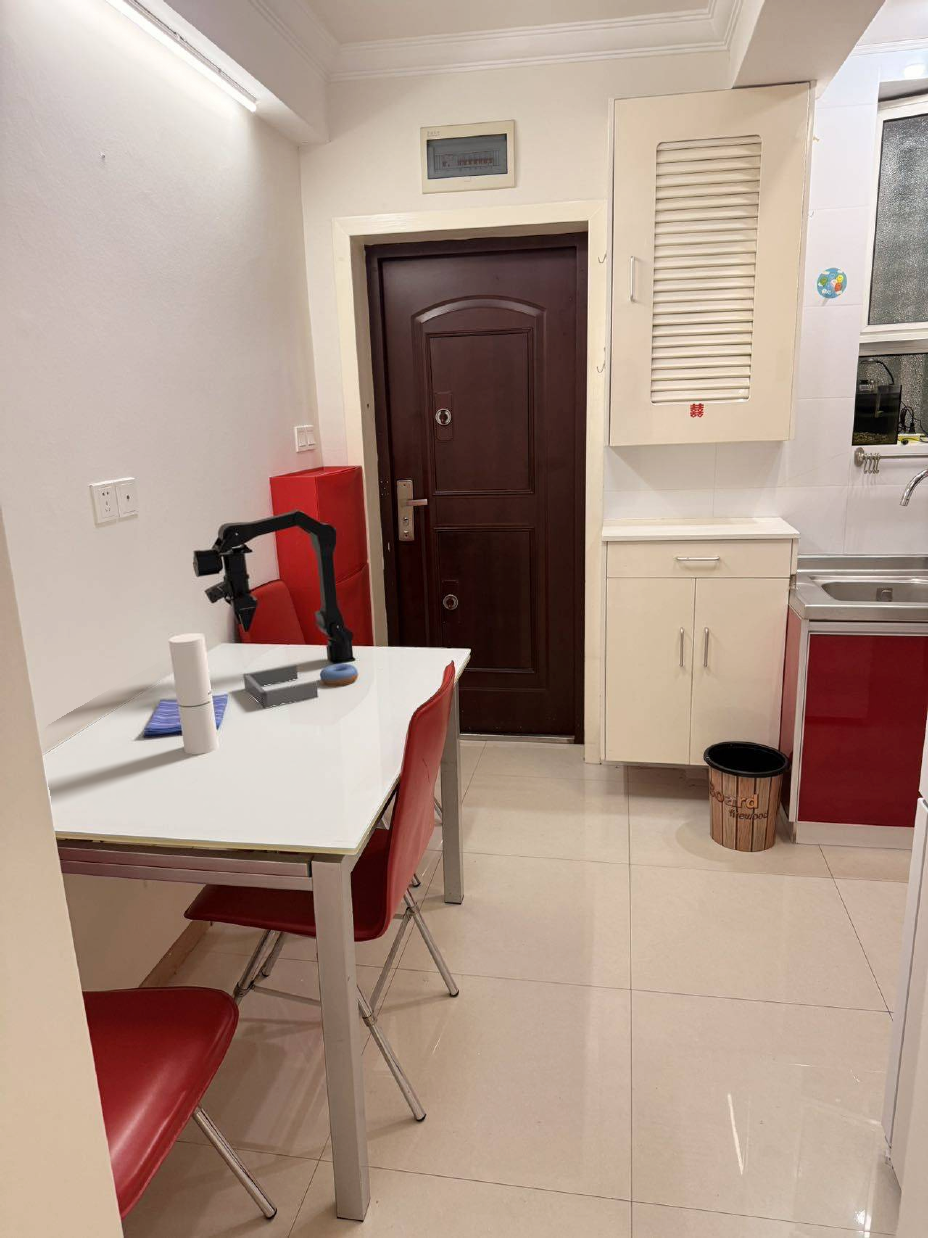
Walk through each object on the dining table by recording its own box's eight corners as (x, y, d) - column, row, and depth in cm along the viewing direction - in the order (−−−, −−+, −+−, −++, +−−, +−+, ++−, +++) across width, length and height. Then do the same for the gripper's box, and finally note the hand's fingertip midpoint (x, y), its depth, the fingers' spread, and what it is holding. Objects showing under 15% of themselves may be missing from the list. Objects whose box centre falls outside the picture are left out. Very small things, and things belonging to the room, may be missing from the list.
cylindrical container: (223, 741, 187) (209, 632, 181) (211, 754, 181) (195, 642, 174) (192, 741, 188) (177, 633, 182) (179, 754, 181) (162, 642, 175)
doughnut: (316, 677, 228) (316, 662, 226) (353, 673, 231) (353, 658, 230) (324, 692, 219) (324, 675, 218) (362, 687, 223) (361, 671, 221)
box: (296, 678, 229) (295, 664, 228) (318, 697, 213) (316, 682, 212) (245, 688, 223) (243, 674, 222) (263, 708, 207) (261, 693, 206)
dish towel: (142, 741, 191) (140, 730, 191) (159, 706, 214) (157, 696, 213) (220, 733, 194) (218, 721, 193) (229, 699, 217) (227, 688, 216)
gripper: (199, 569, 229) (207, 625, 233) (210, 581, 212) (218, 640, 216) (241, 564, 233) (248, 619, 237) (254, 575, 217) (261, 633, 220)
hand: (243, 627), depth 228 cm, fingers open, 9 cm apart
